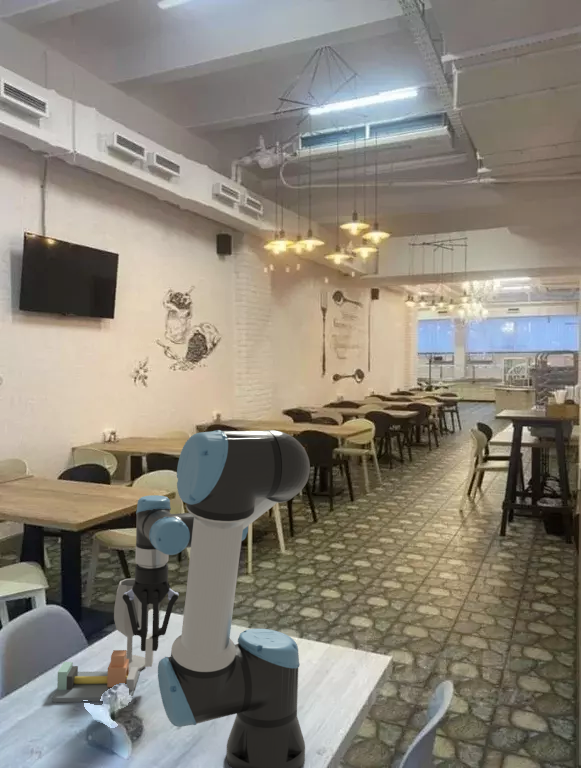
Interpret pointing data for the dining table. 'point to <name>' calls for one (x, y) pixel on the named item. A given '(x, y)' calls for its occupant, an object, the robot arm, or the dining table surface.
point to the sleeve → (118, 668)
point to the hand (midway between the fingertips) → (149, 663)
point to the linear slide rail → (87, 684)
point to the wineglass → (127, 621)
